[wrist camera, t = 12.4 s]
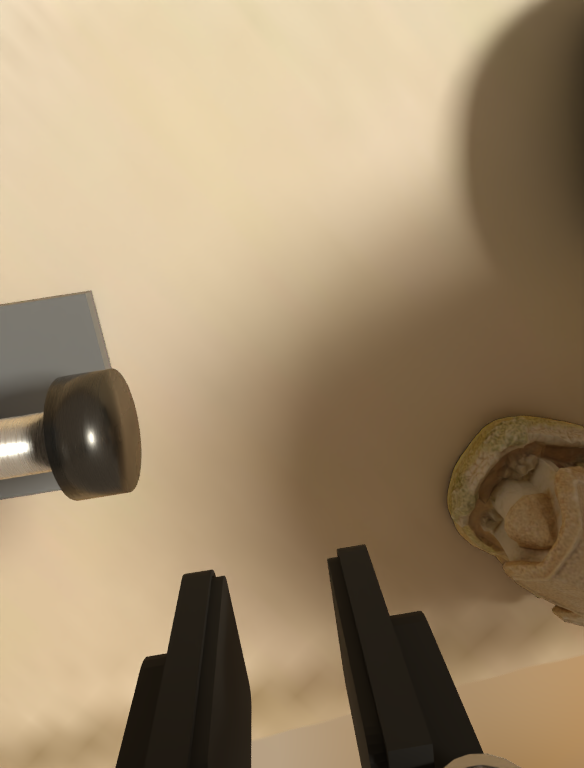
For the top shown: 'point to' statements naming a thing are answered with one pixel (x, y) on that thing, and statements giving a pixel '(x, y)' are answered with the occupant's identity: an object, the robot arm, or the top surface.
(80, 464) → the shaft
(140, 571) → the top surface
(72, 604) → the top surface
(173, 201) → the top surface
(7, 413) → the grey bearing stand
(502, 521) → the ceramic model
